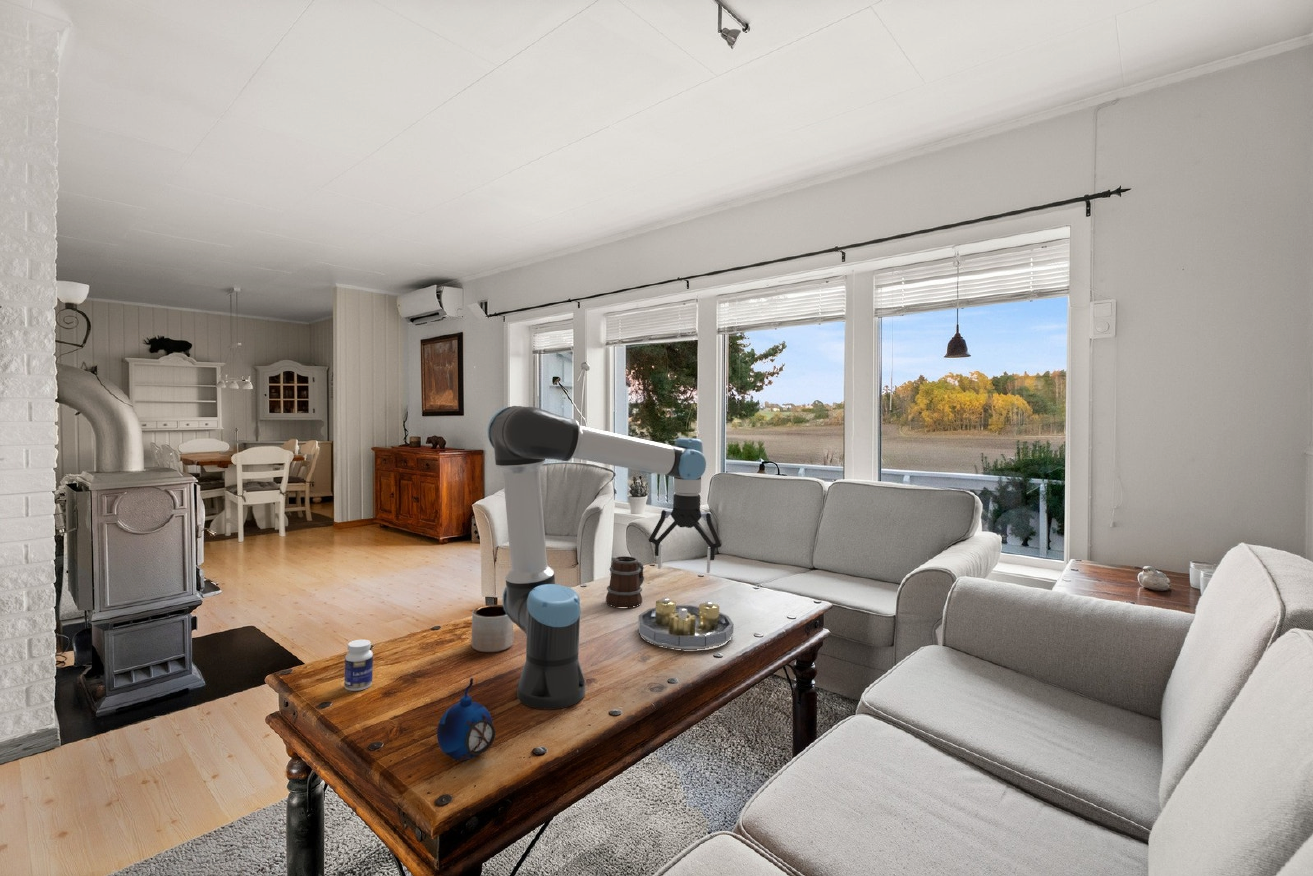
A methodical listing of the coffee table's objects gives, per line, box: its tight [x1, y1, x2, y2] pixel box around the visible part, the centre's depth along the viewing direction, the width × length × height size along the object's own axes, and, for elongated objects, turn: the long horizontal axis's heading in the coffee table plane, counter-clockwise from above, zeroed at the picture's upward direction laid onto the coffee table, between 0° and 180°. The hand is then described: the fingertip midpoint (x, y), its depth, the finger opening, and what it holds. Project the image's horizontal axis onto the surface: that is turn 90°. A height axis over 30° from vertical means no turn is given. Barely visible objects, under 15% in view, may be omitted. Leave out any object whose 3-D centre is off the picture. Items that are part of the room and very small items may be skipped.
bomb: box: [436, 677, 497, 761], centre depth 113 cm, size 10×11×15 cm
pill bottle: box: [343, 639, 374, 692], centre depth 140 cm, size 6×6×10 cm
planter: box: [470, 604, 514, 654], centre depth 166 cm, size 11×11×10 cm
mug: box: [605, 555, 645, 609], centre depth 208 cm, size 16×12×15 cm
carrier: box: [637, 597, 734, 650], centre depth 180 cm, size 27×27×10 cm
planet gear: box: [669, 612, 696, 636], centre depth 173 cm, size 7×7×6 cm
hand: (684, 569), depth 172 cm, fingers open, 13 cm apart
